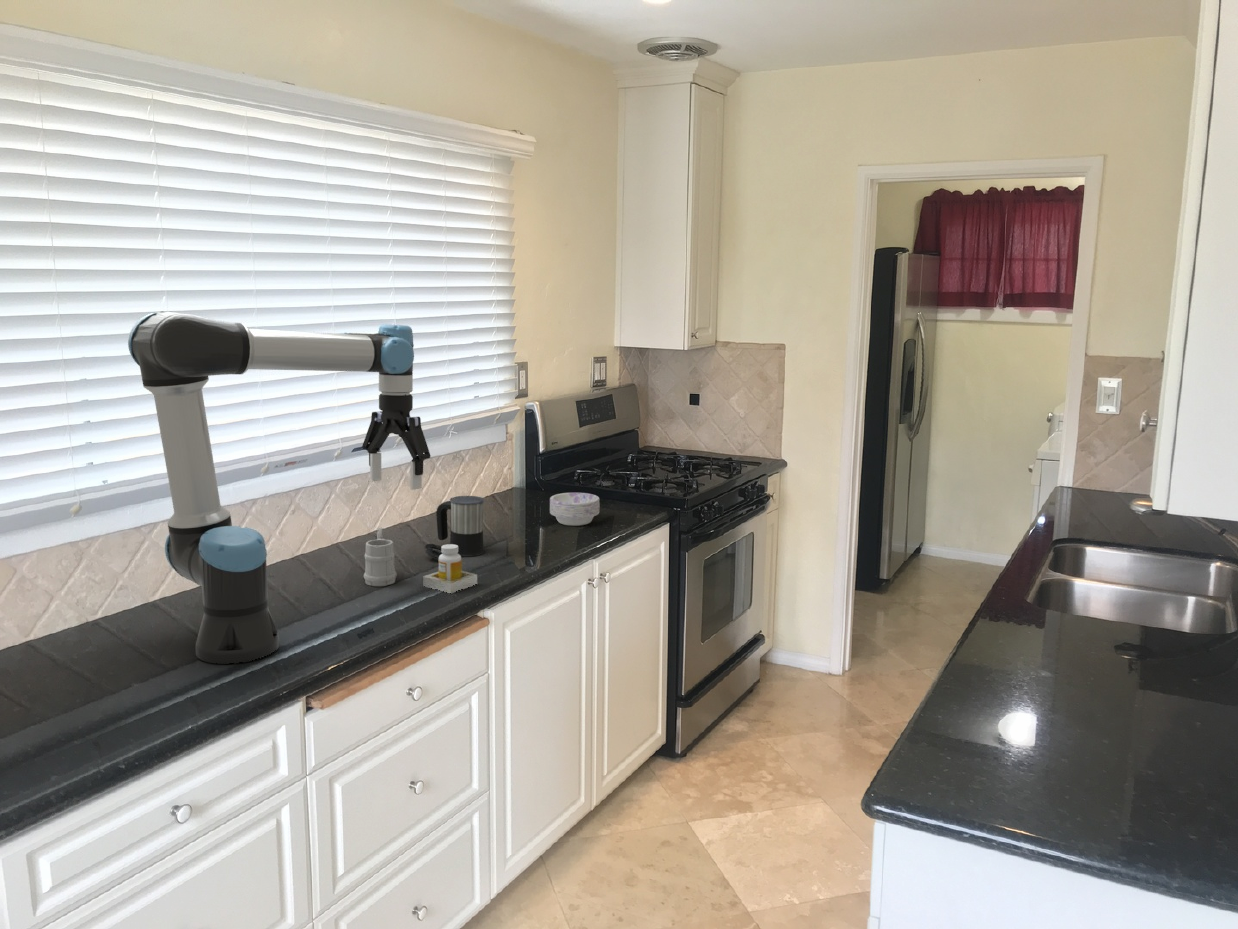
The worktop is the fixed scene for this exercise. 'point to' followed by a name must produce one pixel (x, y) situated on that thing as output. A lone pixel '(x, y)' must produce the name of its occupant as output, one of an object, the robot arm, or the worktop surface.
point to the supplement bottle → (449, 563)
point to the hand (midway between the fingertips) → (395, 484)
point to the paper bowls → (574, 508)
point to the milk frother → (460, 526)
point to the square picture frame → (450, 582)
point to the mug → (379, 561)
